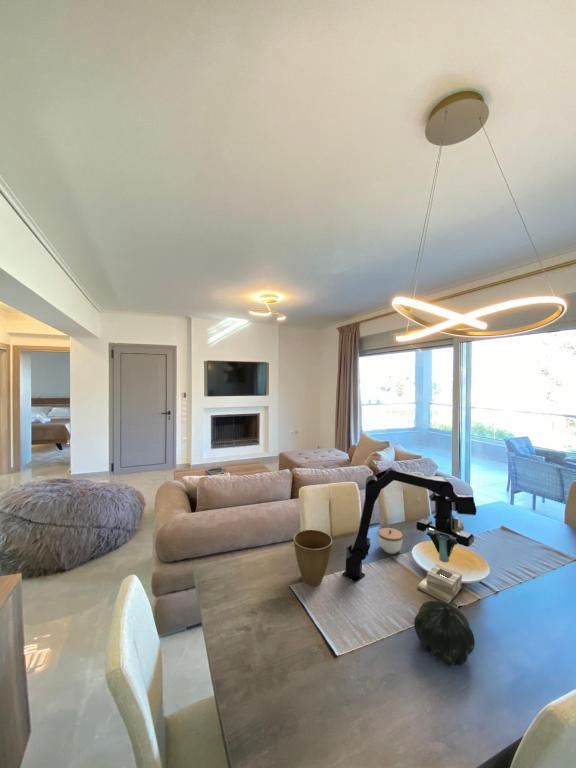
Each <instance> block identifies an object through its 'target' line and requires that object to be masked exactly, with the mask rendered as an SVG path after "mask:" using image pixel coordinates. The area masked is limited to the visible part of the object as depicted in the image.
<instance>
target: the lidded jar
mask: <svg viewBox="0 0 576 768" xmlns="http://www.w3.org/2000/svg"><path fill="white" fill-rule="evenodd" d="M377 535H378V538H377V539H378V544H379V546H380V547H381V549H382V550H383V551H384V552H385V553H388V554H393V555H394V554H397V553H398V552H399V551H400V550H401V549H402V546H403V537H404V535H403V533H402V532H401V531H400V530H398V529H396V528H391V527H383V528H380V529H378V531H377Z"/></svg>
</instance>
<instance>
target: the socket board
mask: <svg viewBox="0 0 576 768" xmlns="http://www.w3.org/2000/svg"><path fill="white" fill-rule="evenodd" d="M440 574H441V575H443V576H445V577H447V578H449V579H447V578H444V577H442V576H440ZM462 579H463V575H462V574H461V573H460V572H457V571H455V570H453V569H450V568H447V567H445V566H443V565H440V564H435V565H434V566H433V567H432V568H431V569H430V570H429V571H428V572H427V573H426V577H425V578H424V579H423V580H421V581H420V583H418V584H417V585H416V586H417V587H416V588H417V589H418V590H420V591H421V592H424V593H426V594H428V595H429V596H433V597H434V598H437V600H439V601H441V602H445V603H448V604H450V603H451V601H452V600H453V599H454V598H455V596H456V595H458V593H459V591H461V589H462V583H463V581H462ZM461 581H462V582H461Z"/></svg>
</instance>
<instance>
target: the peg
mask: <svg viewBox="0 0 576 768" xmlns="http://www.w3.org/2000/svg"><path fill="white" fill-rule="evenodd" d="M449 539H450V538H448V537H446V536H443V535H442V536H441V535H440V537H439V553H438V555H439V556H438V558H439V561H440V562H441V563H449V562H450V557H448V554H447V541H448V540H449Z"/></svg>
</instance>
